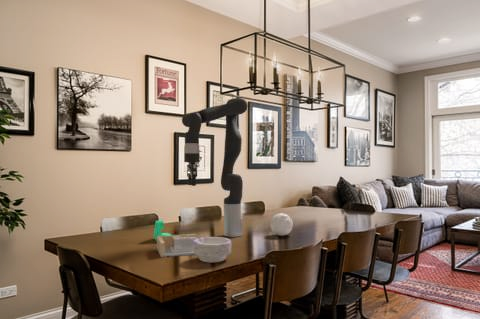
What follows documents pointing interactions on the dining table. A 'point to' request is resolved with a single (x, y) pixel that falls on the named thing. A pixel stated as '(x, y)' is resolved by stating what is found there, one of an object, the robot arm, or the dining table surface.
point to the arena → (166, 246)
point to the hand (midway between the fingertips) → (191, 185)
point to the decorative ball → (281, 224)
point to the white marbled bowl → (212, 248)
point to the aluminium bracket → (182, 243)
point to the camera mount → (159, 229)
